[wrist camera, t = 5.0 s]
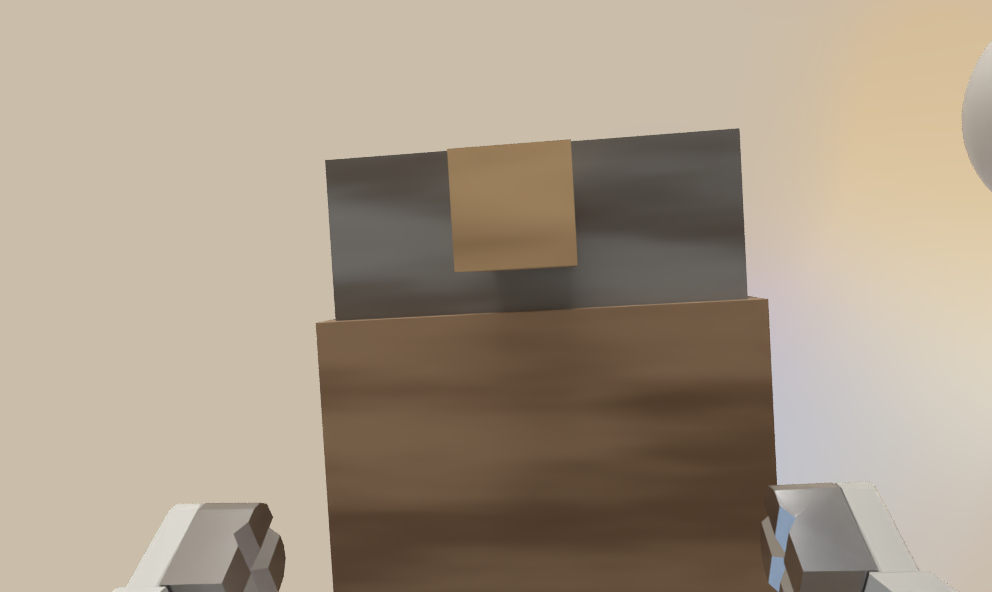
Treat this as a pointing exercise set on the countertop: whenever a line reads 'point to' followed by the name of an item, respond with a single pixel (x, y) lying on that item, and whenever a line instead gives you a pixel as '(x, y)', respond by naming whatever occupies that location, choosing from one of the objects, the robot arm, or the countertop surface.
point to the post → (550, 449)
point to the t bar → (538, 226)
